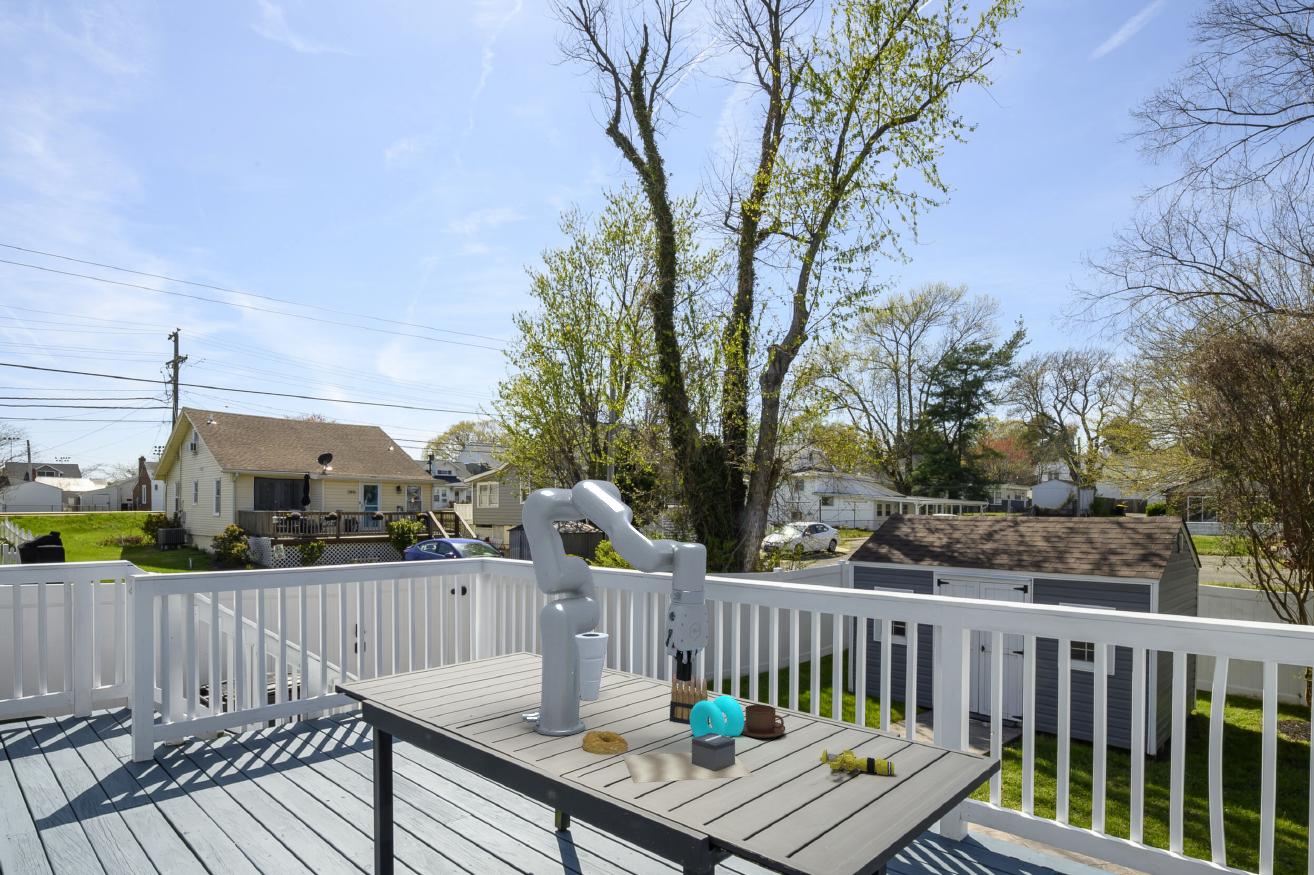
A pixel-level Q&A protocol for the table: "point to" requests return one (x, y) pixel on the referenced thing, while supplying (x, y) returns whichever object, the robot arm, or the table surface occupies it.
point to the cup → (591, 663)
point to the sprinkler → (857, 763)
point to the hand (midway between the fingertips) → (683, 679)
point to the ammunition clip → (686, 699)
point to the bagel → (604, 743)
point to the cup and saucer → (762, 722)
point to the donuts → (717, 717)
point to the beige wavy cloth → (676, 768)
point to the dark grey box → (713, 751)
